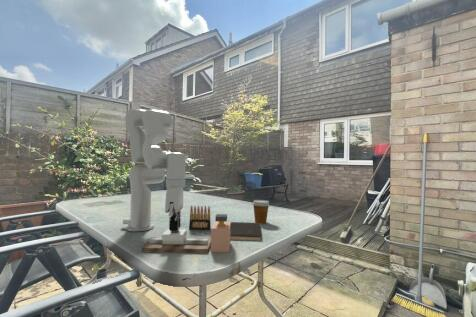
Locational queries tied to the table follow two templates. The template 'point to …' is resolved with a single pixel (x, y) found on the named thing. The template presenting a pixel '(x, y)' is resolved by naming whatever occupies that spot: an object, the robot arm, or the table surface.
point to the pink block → (220, 237)
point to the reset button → (221, 219)
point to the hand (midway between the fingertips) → (174, 228)
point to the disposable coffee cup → (260, 210)
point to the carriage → (174, 235)
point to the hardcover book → (245, 231)
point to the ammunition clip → (199, 219)
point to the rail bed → (178, 246)
